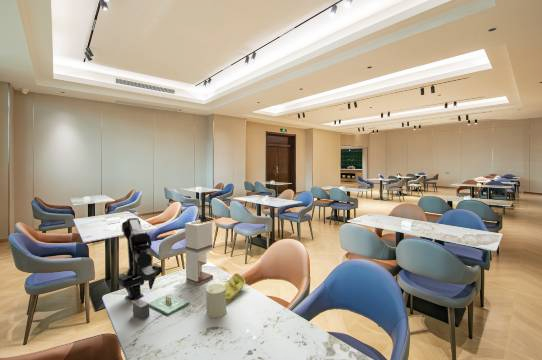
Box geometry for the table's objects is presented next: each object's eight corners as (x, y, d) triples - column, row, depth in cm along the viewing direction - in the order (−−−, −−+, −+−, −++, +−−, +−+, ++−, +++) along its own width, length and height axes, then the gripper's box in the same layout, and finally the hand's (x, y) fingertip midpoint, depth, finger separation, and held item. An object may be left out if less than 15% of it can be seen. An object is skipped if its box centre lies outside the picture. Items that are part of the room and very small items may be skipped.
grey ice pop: (128, 313, 123) (128, 300, 123) (136, 309, 127) (136, 297, 126) (141, 320, 117) (140, 307, 117) (149, 316, 121) (149, 303, 120)
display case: (198, 285, 151) (197, 225, 149) (186, 281, 157) (184, 223, 155) (212, 278, 161) (211, 221, 159) (200, 274, 167) (199, 219, 165)
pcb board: (148, 305, 130) (147, 297, 130) (169, 295, 140) (168, 288, 140) (168, 315, 121) (167, 307, 121) (189, 303, 131) (188, 296, 131)
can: (202, 312, 123) (202, 287, 123) (218, 304, 130) (218, 281, 129) (214, 320, 117) (213, 294, 116) (230, 312, 124) (230, 287, 123)
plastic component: (228, 300, 131) (213, 288, 134) (223, 310, 133) (209, 298, 136) (248, 281, 148) (234, 271, 152) (244, 290, 151) (230, 280, 154)
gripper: (129, 270, 107) (131, 307, 108) (169, 257, 123) (170, 289, 124) (115, 265, 113) (116, 300, 114) (154, 252, 129) (155, 283, 130)
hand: (141, 293), depth 121 cm, fingers open, 9 cm apart
